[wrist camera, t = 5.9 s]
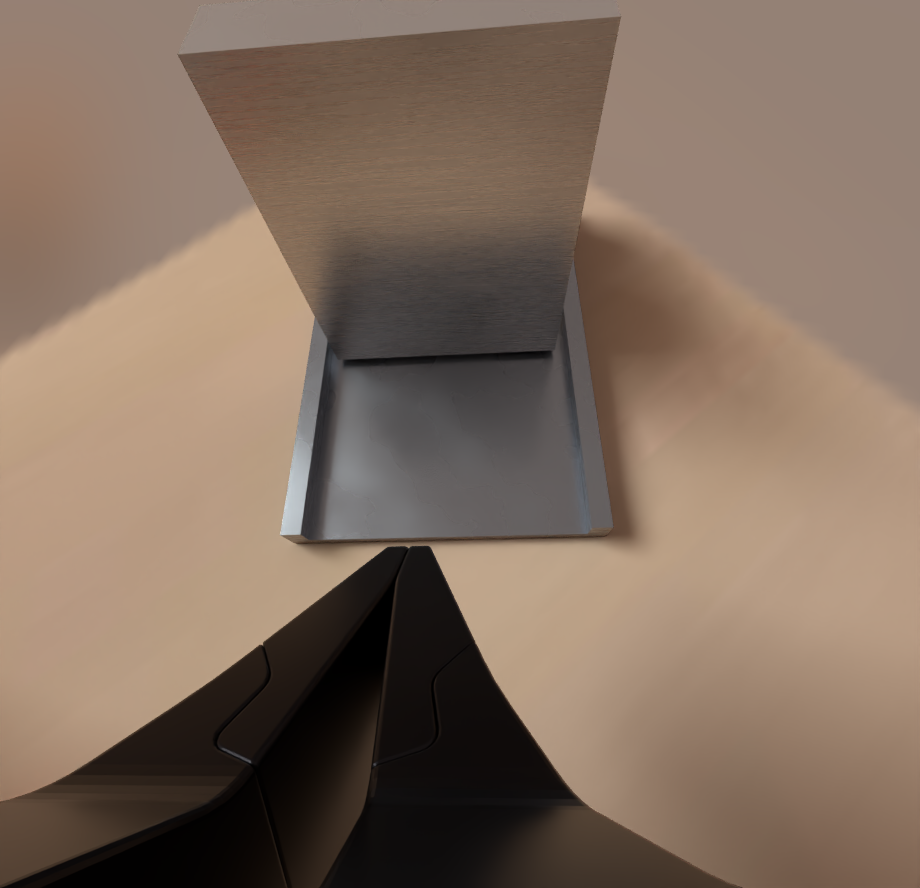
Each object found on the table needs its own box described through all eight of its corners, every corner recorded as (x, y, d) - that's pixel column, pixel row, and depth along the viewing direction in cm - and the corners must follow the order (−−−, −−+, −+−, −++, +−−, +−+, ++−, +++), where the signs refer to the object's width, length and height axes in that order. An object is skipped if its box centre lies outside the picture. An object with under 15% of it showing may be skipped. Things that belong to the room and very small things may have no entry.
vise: (605, 535, 16) (654, 483, 11) (294, 542, 17) (212, 496, 12) (560, 214, 23) (578, 94, 18) (339, 228, 24) (299, 116, 19)
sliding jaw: (555, 350, 19) (621, 16, 9) (337, 359, 19) (177, 54, 10) (550, 311, 20) (607, -33, 10) (342, 321, 20) (199, 5, 10)
